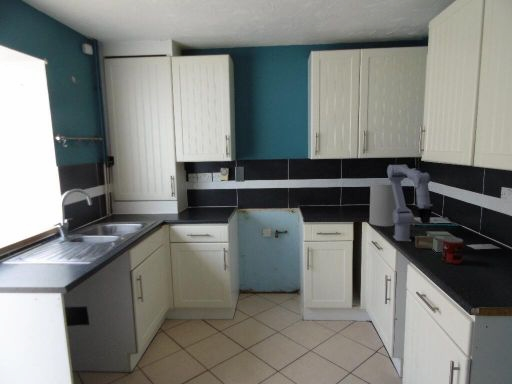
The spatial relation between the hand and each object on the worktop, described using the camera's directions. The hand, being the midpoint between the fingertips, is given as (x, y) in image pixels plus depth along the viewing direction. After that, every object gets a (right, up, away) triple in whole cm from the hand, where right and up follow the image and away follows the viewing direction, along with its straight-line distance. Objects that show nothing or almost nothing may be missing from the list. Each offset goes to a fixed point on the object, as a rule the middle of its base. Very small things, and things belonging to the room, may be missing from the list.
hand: (425, 223), depth 165 cm
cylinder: (+2, -6, +62) cm, 63 cm away
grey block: (+12, -14, +6) cm, 19 cm away
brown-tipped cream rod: (+6, -14, +7) cm, 16 cm away
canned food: (+6, -17, -12) cm, 22 cm away
